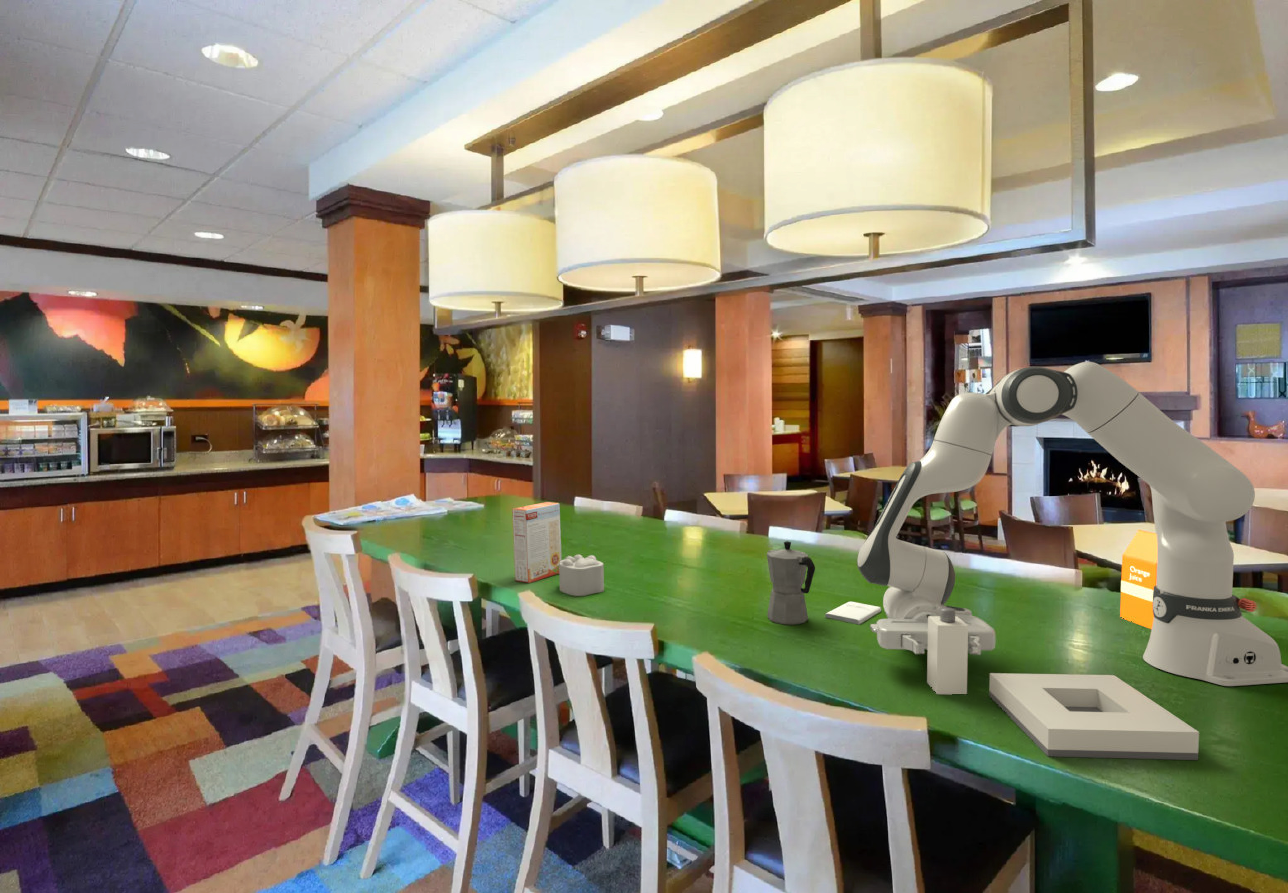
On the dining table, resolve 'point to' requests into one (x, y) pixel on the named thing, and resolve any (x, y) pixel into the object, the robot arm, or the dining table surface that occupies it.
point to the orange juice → (1139, 579)
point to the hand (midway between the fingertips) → (948, 650)
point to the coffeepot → (789, 585)
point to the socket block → (1092, 717)
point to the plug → (947, 653)
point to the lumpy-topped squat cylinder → (581, 575)
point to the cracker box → (536, 541)
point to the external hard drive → (853, 612)
